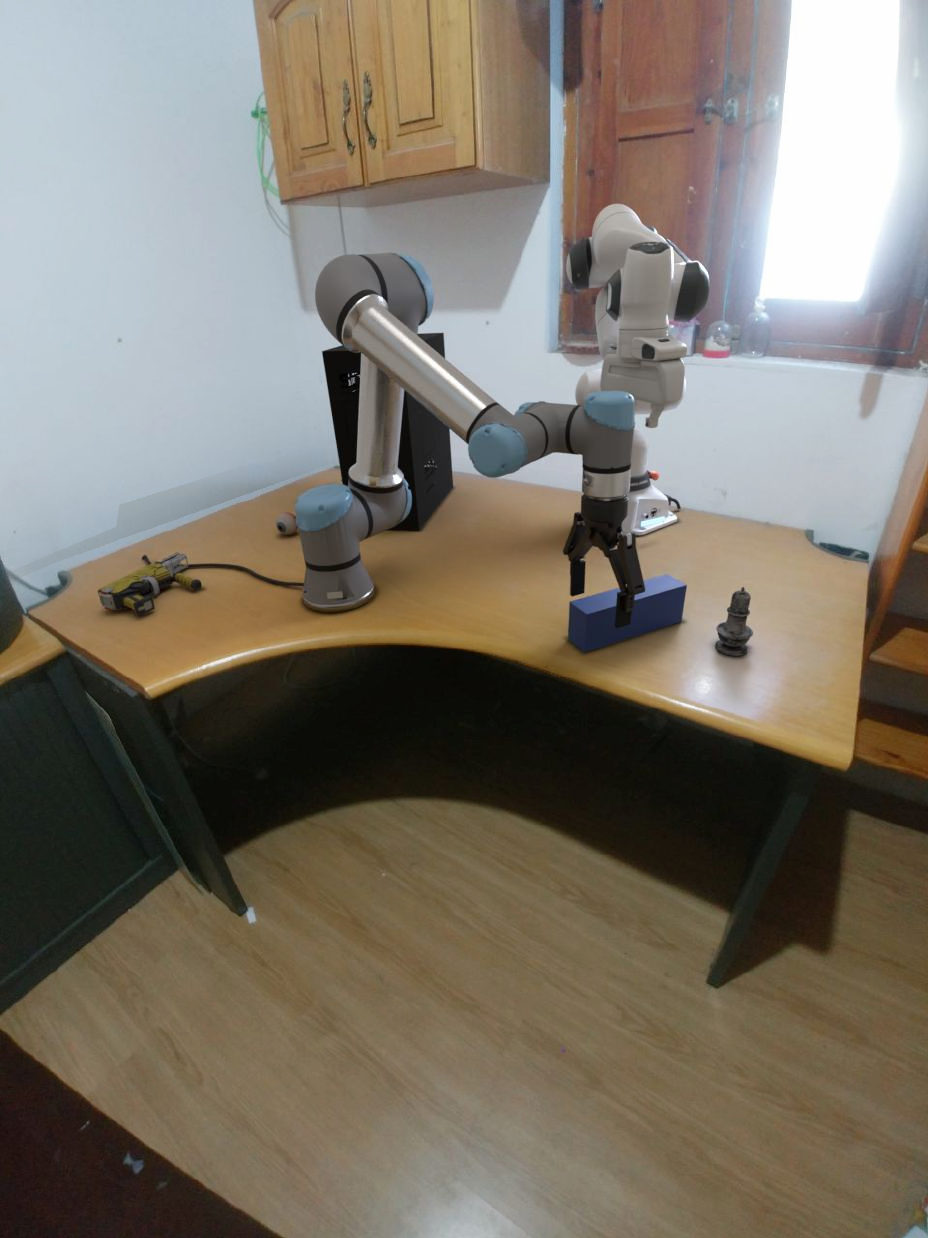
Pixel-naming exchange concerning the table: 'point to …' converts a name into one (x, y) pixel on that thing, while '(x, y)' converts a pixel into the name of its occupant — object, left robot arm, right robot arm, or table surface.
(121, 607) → the toy gun
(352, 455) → the black tall block
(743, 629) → the chess piece
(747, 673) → the table surface
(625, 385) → the right robot arm
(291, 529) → the eyeball
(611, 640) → the bar
